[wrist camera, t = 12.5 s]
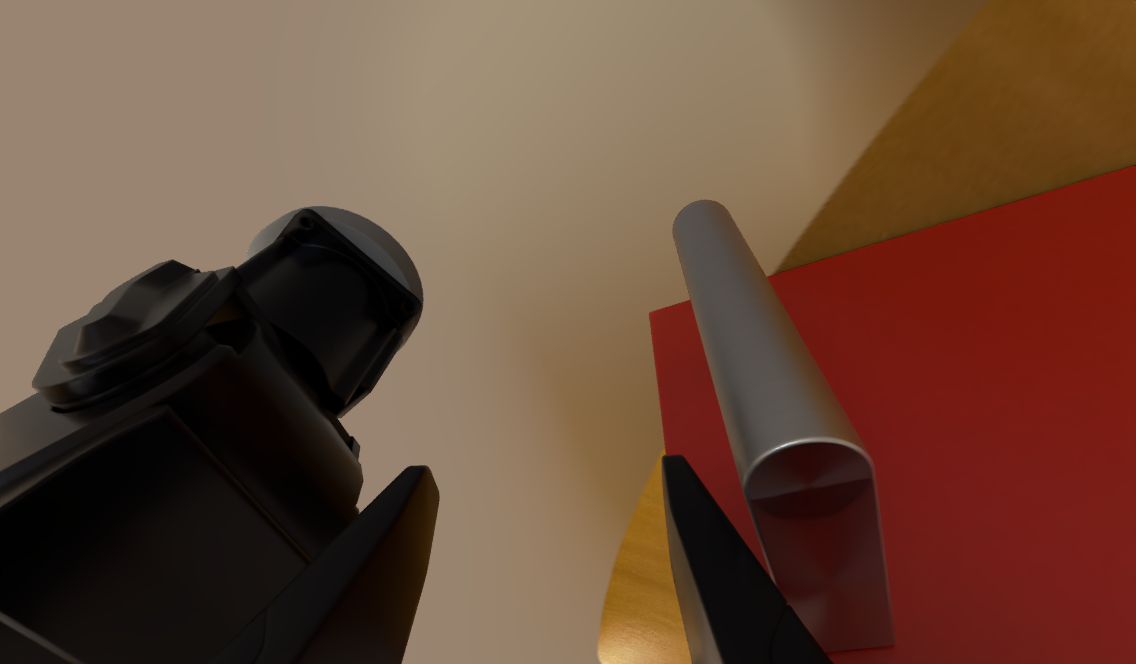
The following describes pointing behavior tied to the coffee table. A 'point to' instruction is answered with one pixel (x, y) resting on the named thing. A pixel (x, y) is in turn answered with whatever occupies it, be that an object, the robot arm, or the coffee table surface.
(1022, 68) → the coffee table surface
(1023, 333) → the cupboard door
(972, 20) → the coffee table surface
